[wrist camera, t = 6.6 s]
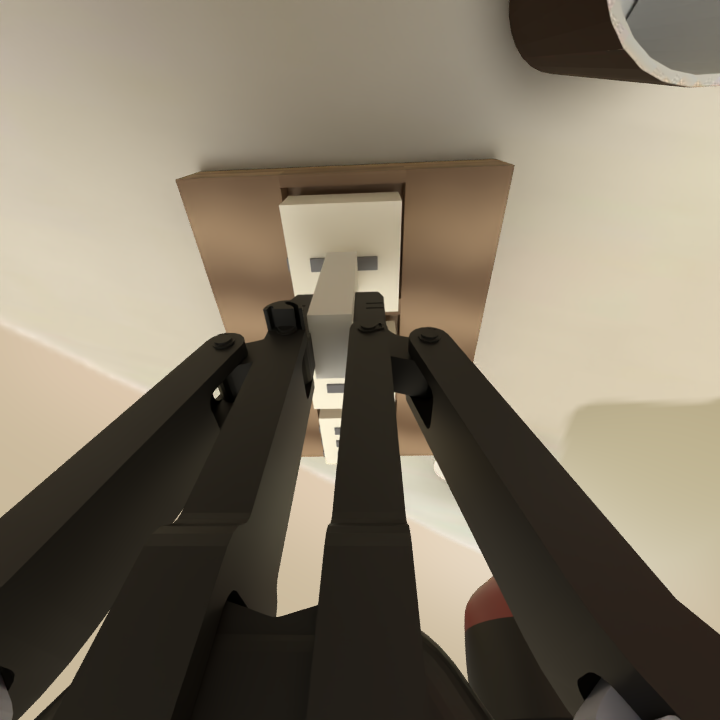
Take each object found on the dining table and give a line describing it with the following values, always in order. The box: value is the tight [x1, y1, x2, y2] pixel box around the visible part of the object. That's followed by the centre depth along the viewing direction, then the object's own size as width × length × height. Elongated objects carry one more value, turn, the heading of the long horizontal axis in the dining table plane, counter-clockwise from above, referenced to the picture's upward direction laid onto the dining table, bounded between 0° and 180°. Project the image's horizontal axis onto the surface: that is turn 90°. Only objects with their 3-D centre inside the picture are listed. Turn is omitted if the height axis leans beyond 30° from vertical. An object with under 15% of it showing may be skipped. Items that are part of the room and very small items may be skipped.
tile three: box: [319, 409, 342, 464], centre depth 29 cm, size 6×6×3 cm
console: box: [176, 159, 515, 457], centre depth 26 cm, size 24×18×3 cm
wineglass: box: [434, 460, 574, 720], centre depth 29 cm, size 8×9×20 cm
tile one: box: [279, 192, 402, 312], centre depth 18 cm, size 6×6×3 cm
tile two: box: [312, 321, 396, 409], centre depth 23 cm, size 6×6×3 cm
